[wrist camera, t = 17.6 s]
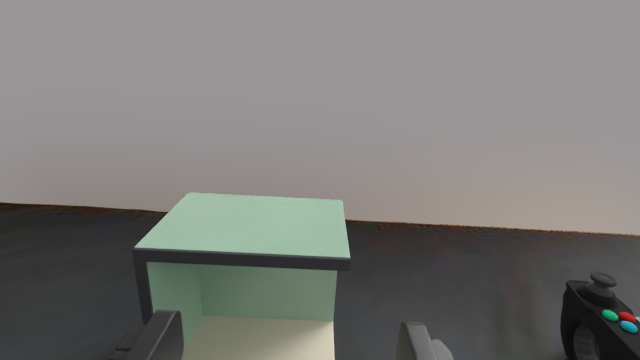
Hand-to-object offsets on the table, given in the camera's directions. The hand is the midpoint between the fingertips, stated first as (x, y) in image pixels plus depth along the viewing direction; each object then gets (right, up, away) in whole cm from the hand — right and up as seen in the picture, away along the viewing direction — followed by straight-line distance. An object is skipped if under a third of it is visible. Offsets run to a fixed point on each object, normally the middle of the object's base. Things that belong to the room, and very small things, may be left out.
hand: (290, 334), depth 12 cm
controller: (+28, -15, +22) cm, 39 cm away
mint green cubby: (-5, -12, +24) cm, 27 cm away
